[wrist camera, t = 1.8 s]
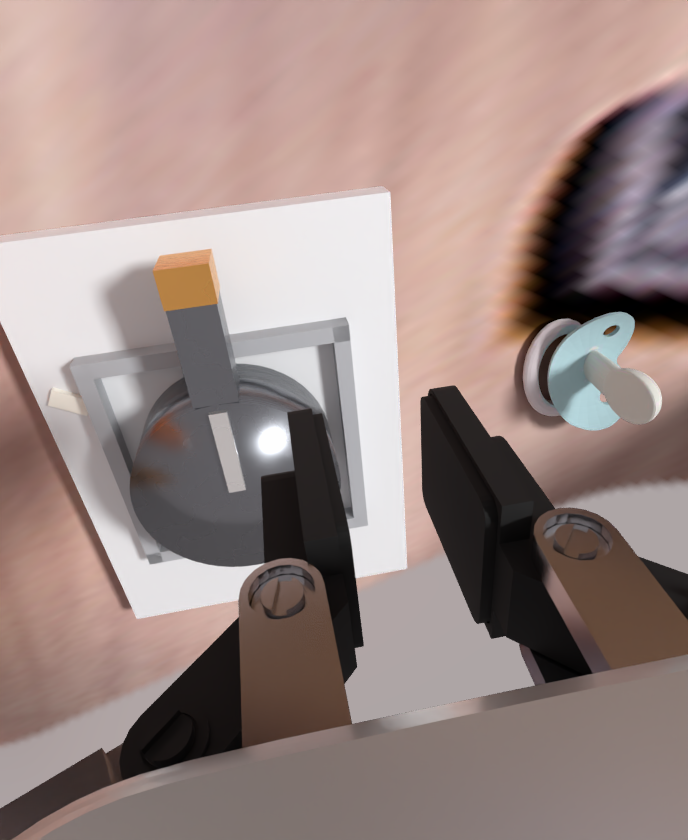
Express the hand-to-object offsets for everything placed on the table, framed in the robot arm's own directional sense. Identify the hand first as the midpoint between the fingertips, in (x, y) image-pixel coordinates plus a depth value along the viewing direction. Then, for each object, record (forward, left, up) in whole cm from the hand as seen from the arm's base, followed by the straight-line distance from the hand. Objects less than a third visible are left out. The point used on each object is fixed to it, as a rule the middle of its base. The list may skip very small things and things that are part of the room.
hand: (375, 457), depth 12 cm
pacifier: (-15, +9, -18) cm, 24 cm away
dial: (+5, +6, -16) cm, 18 cm away
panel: (+5, +10, -17) cm, 20 cm away
